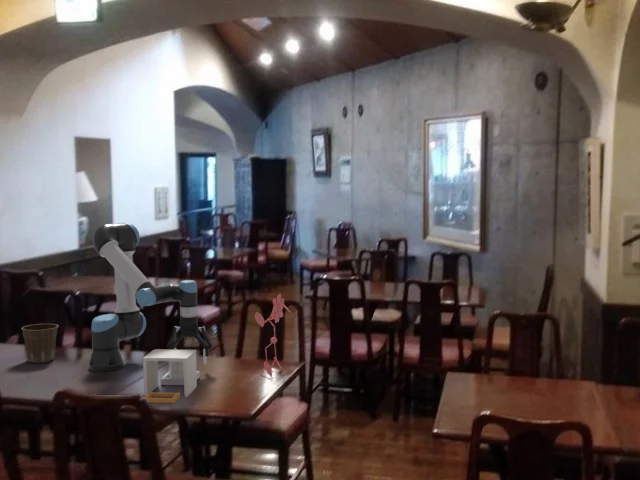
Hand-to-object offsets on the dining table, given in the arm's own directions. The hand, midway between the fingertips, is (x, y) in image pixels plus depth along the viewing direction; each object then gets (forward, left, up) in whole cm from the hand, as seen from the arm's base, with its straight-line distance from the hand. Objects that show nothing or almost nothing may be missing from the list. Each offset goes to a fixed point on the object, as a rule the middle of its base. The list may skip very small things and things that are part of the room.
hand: (190, 363), depth 312 cm
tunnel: (+29, 0, -4) cm, 29 cm away
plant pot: (-16, -76, -4) cm, 78 cm away
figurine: (+2, +40, -4) cm, 40 cm away
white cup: (+17, 0, -4) cm, 18 cm away
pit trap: (+41, 0, -4) cm, 41 cm away
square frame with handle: (+10, 0, -3) cm, 11 cm away
